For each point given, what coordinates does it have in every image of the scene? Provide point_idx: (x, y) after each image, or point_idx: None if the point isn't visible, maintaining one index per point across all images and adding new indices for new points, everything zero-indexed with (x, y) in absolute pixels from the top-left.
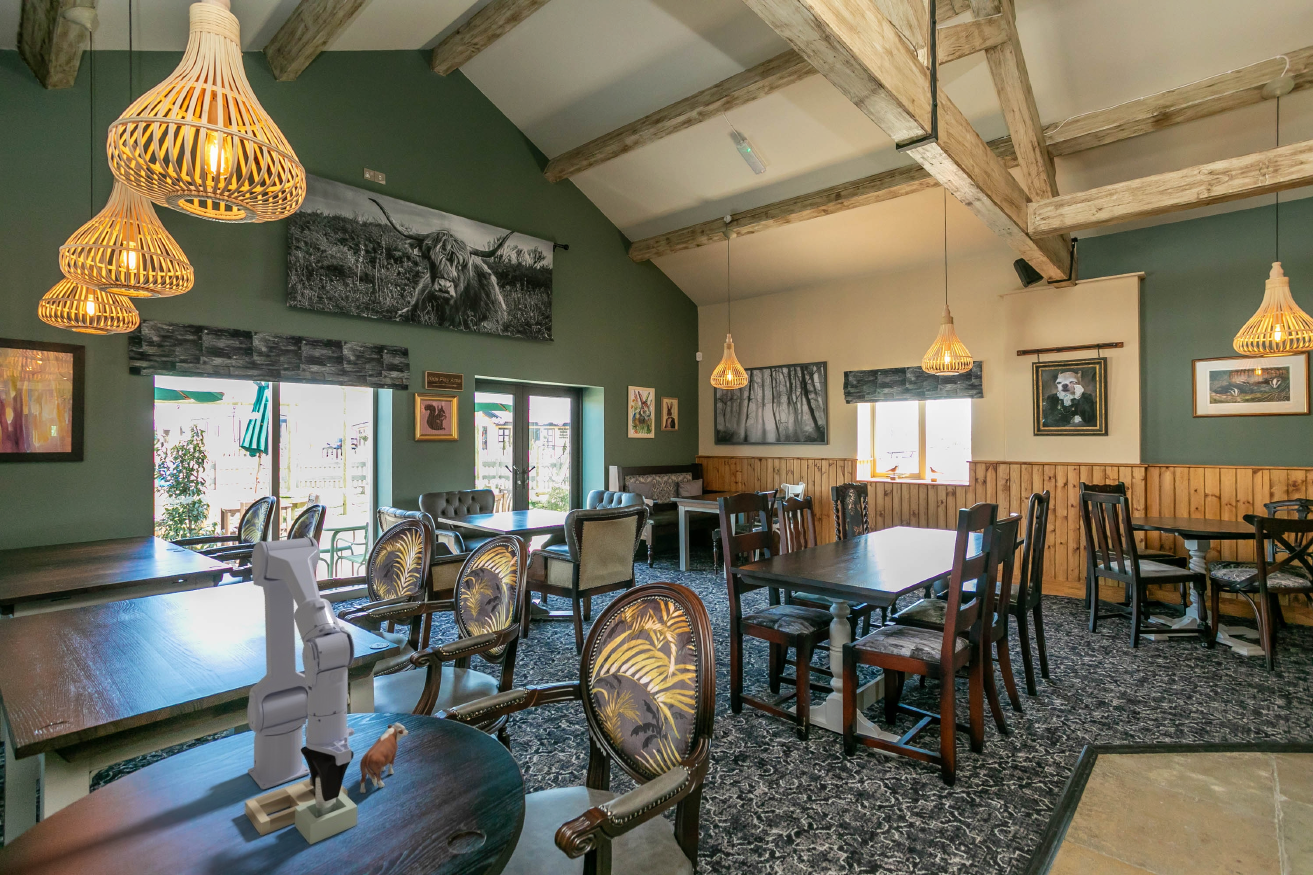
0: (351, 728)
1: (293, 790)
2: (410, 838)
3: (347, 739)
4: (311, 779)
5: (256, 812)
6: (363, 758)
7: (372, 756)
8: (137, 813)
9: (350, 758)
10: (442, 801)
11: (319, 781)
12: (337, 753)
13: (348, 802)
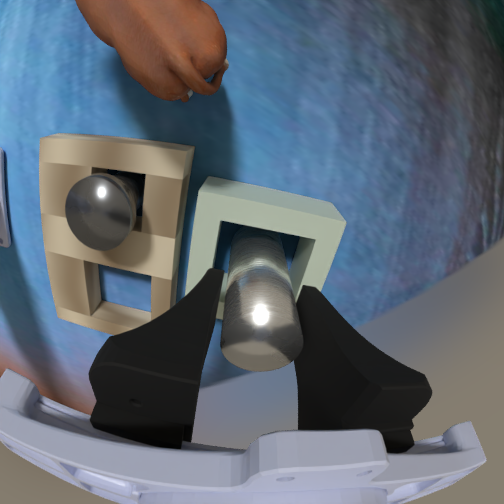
0: (321, 469)
1: (70, 244)
2: (471, 182)
3: (427, 478)
4: (94, 244)
5: (116, 332)
6: (164, 86)
7: (199, 54)
8: (8, 352)
9: (472, 431)
10: (433, 29)
11: (273, 367)
12: (446, 484)
13: (299, 222)
